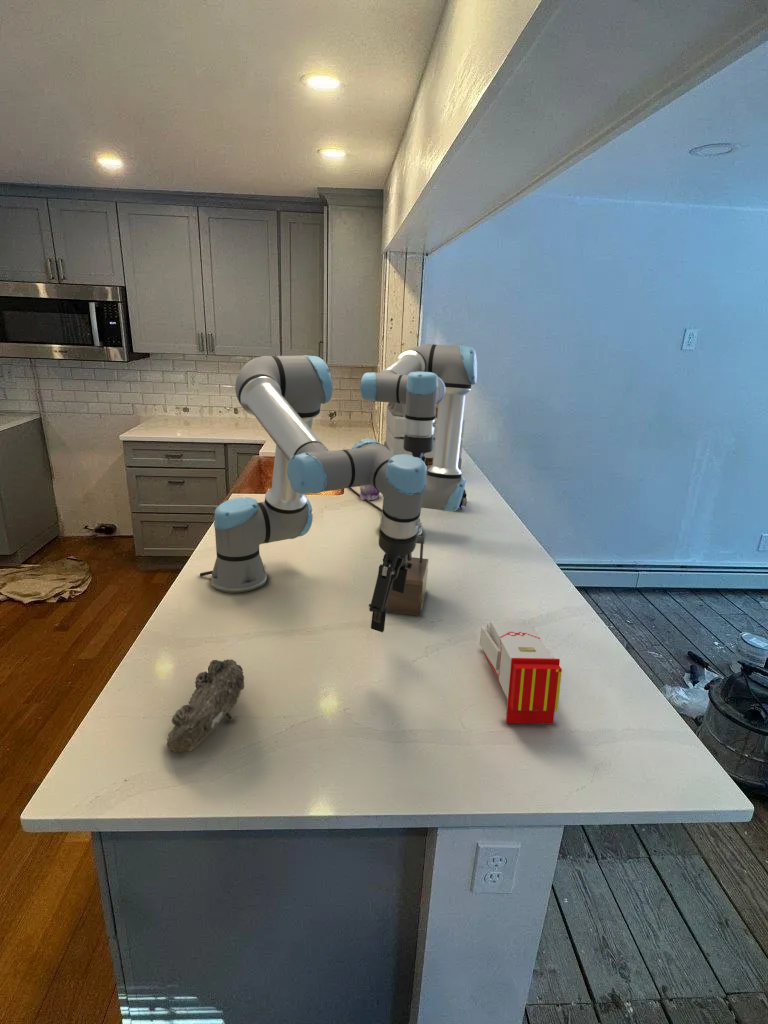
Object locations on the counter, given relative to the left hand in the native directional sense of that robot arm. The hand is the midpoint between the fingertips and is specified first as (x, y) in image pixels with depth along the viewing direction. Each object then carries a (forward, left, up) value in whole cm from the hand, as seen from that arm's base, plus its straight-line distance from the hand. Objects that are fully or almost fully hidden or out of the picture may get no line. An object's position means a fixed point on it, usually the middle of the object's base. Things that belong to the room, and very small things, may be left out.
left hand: (388, 609), depth 124 cm
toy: (+28, -2, -13) cm, 31 cm away
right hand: (+1, +32, +11) cm, 34 cm away
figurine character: (+10, +111, -13) cm, 113 cm away
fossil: (-29, -27, -13) cm, 41 cm away
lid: (+1, +28, -4) cm, 28 cm away
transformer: (-10, +156, -13) cm, 157 cm away
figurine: (-26, +112, -13) cm, 115 cm away
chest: (+1, +28, -13) cm, 30 cm away
